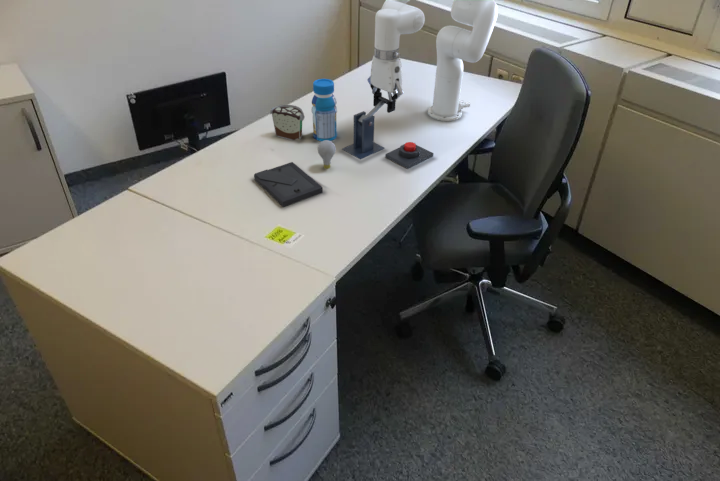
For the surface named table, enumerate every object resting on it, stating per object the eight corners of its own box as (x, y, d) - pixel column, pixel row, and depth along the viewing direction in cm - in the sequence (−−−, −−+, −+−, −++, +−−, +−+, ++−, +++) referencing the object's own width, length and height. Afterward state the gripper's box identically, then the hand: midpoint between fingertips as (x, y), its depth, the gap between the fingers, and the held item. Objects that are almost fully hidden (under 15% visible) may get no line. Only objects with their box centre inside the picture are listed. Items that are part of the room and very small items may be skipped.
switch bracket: (366, 141, 186) (366, 106, 178) (384, 150, 180) (386, 115, 172) (341, 151, 180) (341, 116, 172) (360, 162, 174) (361, 125, 167)
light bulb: (329, 176, 168) (328, 147, 161) (315, 171, 170) (313, 142, 164) (339, 168, 171) (338, 139, 165) (325, 163, 173) (324, 135, 167)
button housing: (410, 147, 182) (411, 137, 180) (432, 159, 177) (434, 148, 174) (385, 159, 176) (385, 148, 173) (407, 171, 170) (408, 160, 168)
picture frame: (254, 179, 165) (283, 207, 154) (253, 173, 164) (282, 200, 153) (292, 167, 171) (322, 192, 160) (292, 160, 170) (322, 186, 159)
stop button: (409, 145, 176) (409, 140, 175) (417, 149, 174) (418, 144, 173) (401, 149, 174) (402, 144, 173) (410, 153, 172) (410, 148, 171)
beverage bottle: (325, 146, 182) (323, 89, 170) (307, 138, 187) (304, 82, 174) (342, 138, 187) (342, 82, 175) (325, 130, 191) (323, 75, 179)
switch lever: (381, 99, 178) (379, 93, 176) (393, 104, 175) (391, 98, 173) (356, 123, 175) (354, 118, 173) (368, 129, 172) (365, 124, 170)
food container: (312, 135, 188) (310, 108, 182) (303, 142, 184) (301, 115, 178) (281, 128, 192) (279, 101, 186) (272, 135, 188) (269, 108, 182)
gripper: (415, 57, 163) (411, 113, 174) (375, 43, 173) (374, 96, 184) (398, 63, 159) (395, 120, 170) (358, 48, 169) (357, 103, 180)
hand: (384, 107), depth 177 cm, fingers closed on switch lever, 5 cm apart
